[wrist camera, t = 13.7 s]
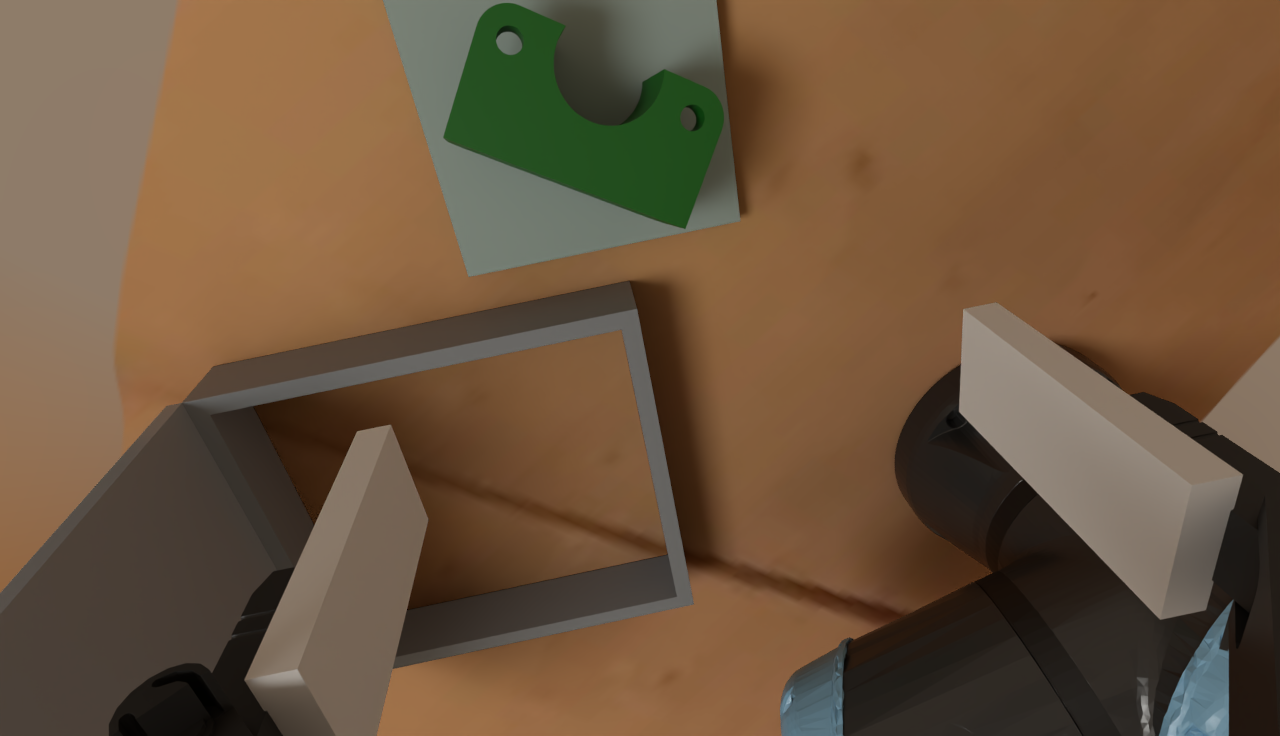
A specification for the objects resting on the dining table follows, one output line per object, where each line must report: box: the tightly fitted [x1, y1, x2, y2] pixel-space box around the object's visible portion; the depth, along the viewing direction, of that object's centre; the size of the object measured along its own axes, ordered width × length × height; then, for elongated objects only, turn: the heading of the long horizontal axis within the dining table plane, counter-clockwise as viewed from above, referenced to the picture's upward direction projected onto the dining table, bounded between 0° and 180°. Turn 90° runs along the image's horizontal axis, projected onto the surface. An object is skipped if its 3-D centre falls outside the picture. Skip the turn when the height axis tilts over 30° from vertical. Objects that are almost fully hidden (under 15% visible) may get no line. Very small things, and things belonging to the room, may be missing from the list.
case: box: [0, 281, 694, 736], centre depth 36 cm, size 25×22×23 cm
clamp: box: [443, 3, 724, 229], centre depth 33 cm, size 12×6×9 cm, turn 61°
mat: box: [383, 0, 740, 277], centre depth 36 cm, size 15×15×1 cm
